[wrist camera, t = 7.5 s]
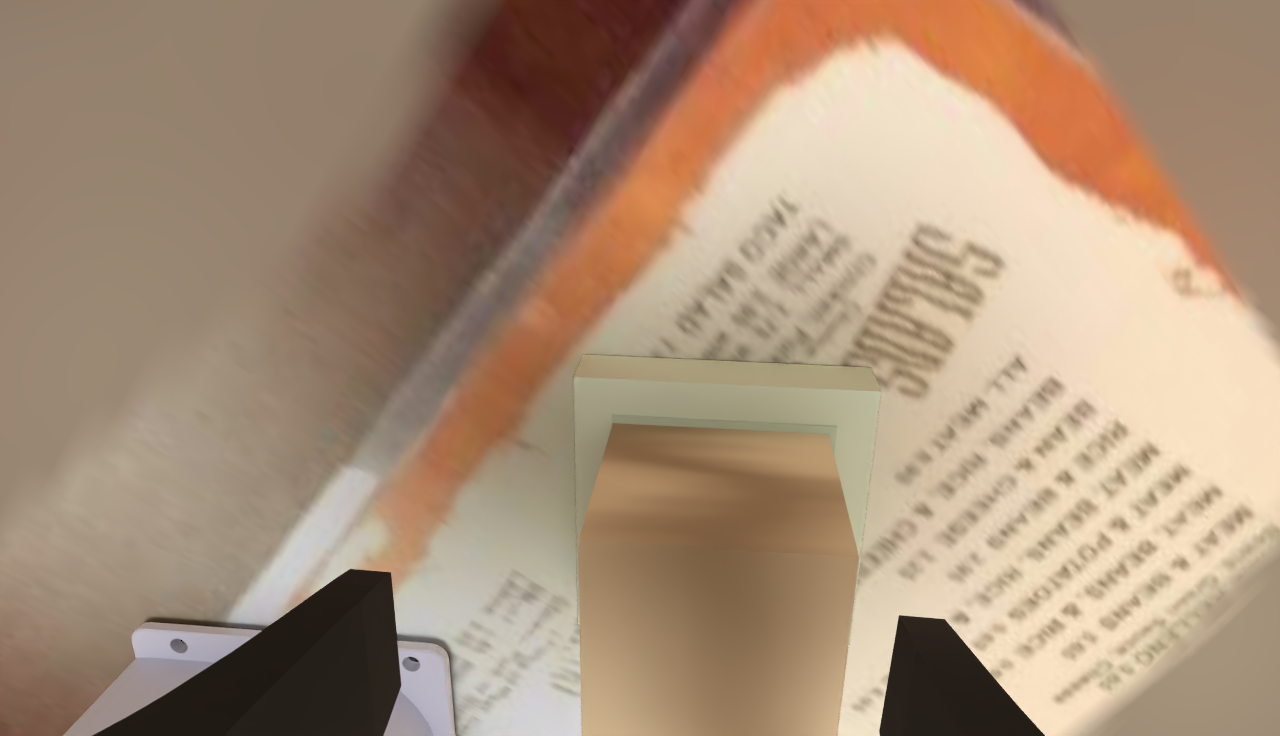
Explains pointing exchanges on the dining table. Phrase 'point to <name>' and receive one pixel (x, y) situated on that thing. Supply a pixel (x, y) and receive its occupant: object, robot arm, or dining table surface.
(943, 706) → the robot arm
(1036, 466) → the dining table surface
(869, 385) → the base
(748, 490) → the block
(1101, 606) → the dining table surface
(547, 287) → the dining table surface
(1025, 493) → the dining table surface
